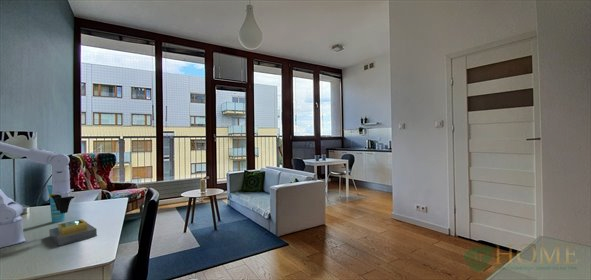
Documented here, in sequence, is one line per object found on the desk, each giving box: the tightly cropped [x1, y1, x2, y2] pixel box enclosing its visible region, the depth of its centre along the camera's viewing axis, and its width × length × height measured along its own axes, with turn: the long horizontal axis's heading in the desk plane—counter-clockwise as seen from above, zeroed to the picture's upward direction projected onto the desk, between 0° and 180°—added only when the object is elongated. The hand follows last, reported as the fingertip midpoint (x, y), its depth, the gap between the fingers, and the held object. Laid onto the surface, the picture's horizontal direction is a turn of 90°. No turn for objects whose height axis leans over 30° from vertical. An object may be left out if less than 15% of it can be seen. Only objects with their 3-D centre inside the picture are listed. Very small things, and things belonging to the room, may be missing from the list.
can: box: [65, 220, 79, 227], centre depth 108 cm, size 4×4×6 cm
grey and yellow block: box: [48, 218, 98, 247], centre depth 108 cm, size 12×18×6 cm, turn 53°
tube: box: [46, 184, 66, 223], centre depth 130 cm, size 7×5×19 cm, turn 123°
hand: (62, 211), depth 111 cm, fingers open, 7 cm apart
